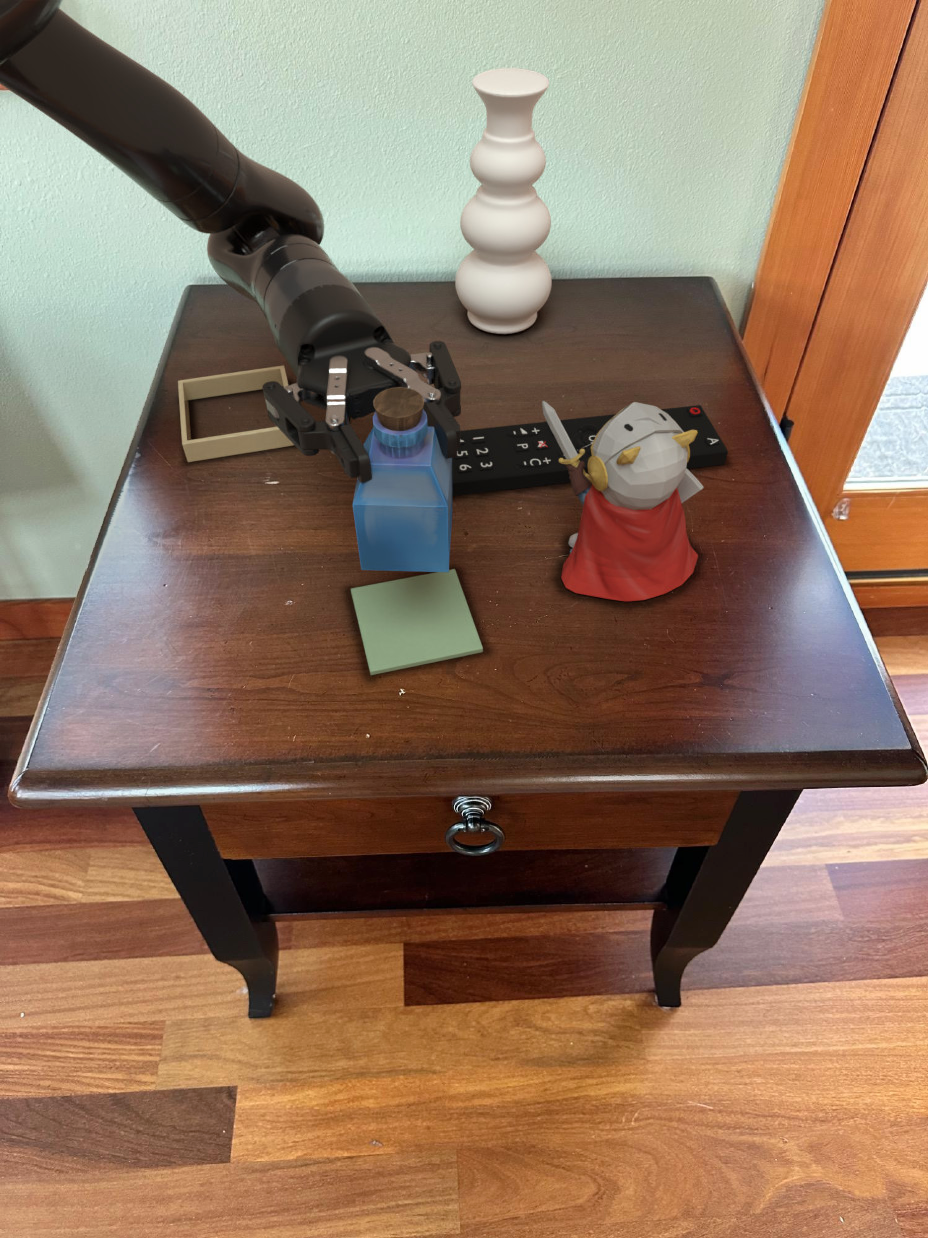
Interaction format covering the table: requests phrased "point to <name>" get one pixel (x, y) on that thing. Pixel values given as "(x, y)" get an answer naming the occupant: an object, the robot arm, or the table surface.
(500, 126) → the vase
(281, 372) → the holder
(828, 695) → the table surface
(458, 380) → the robot arm
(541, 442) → the remote control
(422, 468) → the perfume bottle
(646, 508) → the figurine
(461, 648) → the mat
